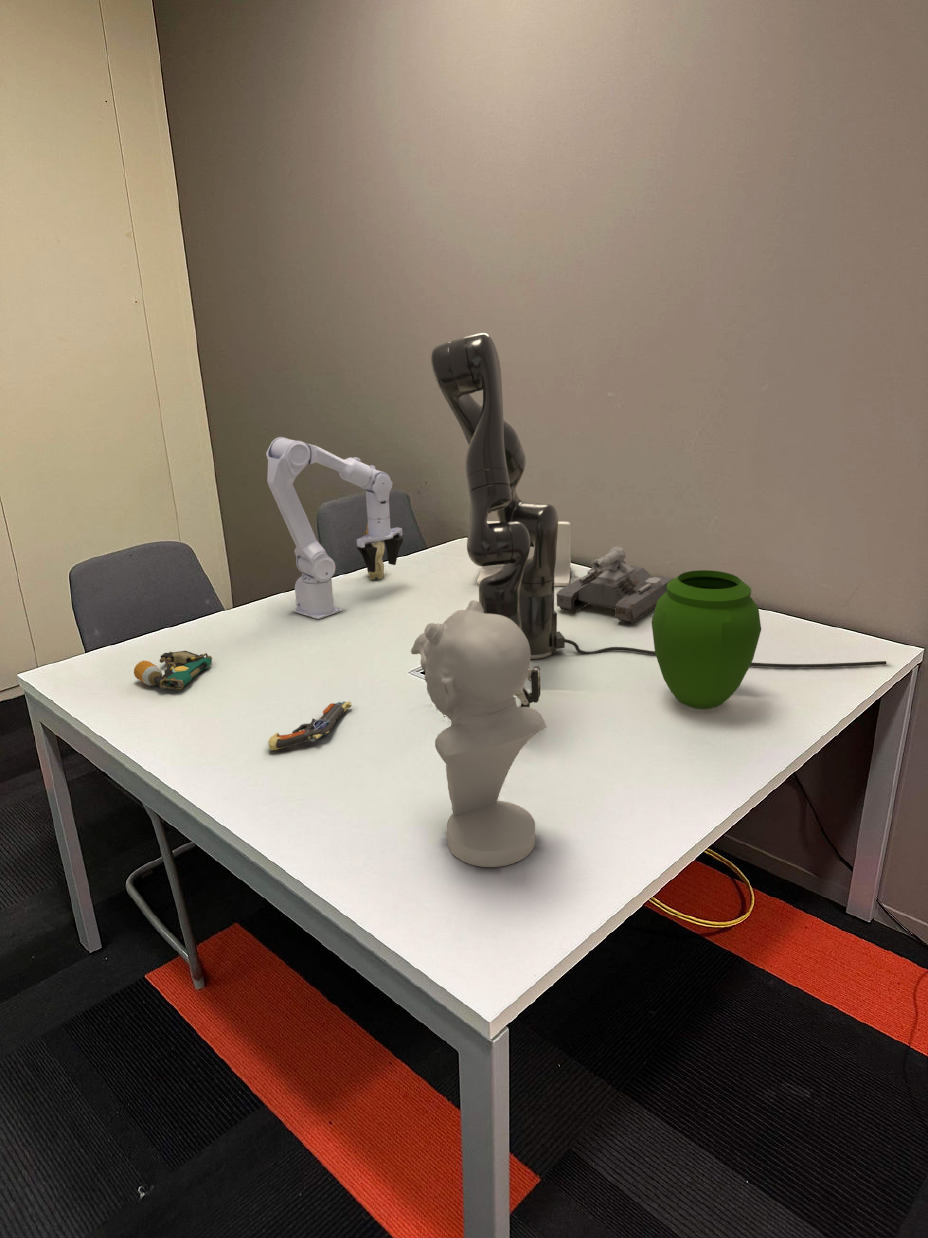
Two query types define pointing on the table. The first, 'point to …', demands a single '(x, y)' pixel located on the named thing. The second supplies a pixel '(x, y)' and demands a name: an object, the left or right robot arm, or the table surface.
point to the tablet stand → (561, 557)
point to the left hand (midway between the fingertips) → (381, 567)
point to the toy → (614, 588)
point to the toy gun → (311, 727)
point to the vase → (705, 636)
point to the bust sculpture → (481, 729)
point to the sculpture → (377, 559)
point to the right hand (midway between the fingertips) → (501, 719)
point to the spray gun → (172, 669)
